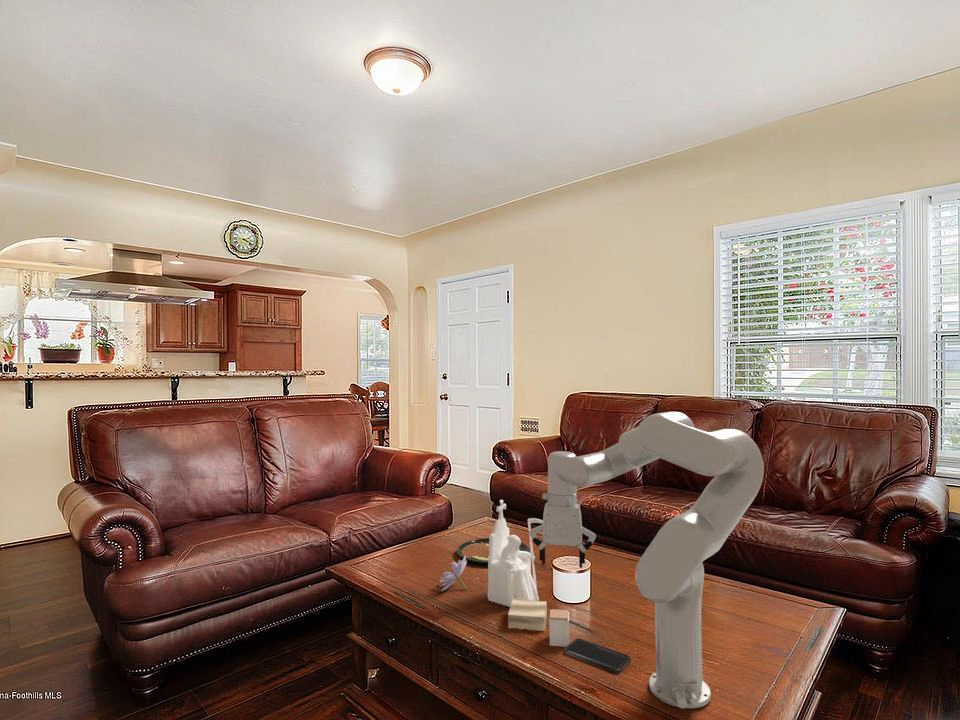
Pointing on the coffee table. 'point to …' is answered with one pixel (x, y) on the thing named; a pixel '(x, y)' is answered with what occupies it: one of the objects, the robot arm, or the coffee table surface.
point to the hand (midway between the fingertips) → (562, 564)
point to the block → (527, 615)
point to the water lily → (457, 571)
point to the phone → (597, 655)
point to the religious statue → (510, 565)
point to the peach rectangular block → (559, 627)
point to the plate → (486, 540)
